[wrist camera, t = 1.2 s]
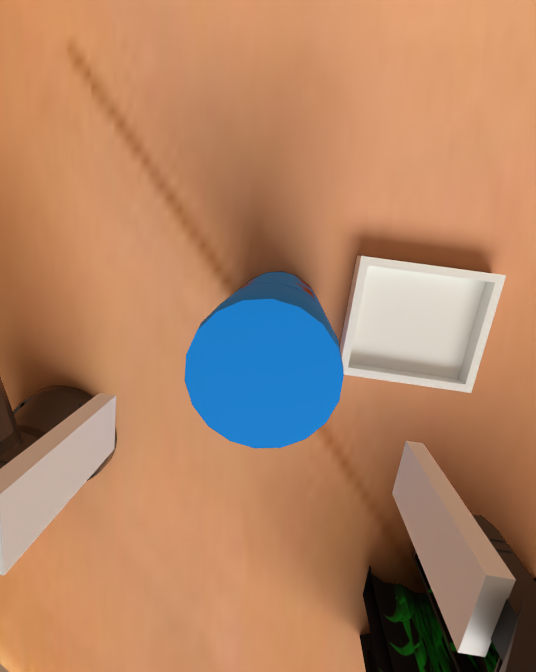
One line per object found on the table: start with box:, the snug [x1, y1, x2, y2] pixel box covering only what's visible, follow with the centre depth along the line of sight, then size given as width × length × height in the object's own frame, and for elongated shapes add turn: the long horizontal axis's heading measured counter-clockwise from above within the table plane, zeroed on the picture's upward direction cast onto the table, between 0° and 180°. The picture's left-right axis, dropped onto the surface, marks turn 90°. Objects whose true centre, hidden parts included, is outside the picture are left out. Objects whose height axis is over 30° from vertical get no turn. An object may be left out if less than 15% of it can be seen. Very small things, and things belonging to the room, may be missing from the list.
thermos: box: [185, 272, 344, 448], centre depth 35 cm, size 11×11×25 cm
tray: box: [340, 255, 506, 393], centre depth 45 cm, size 17×15×3 cm
